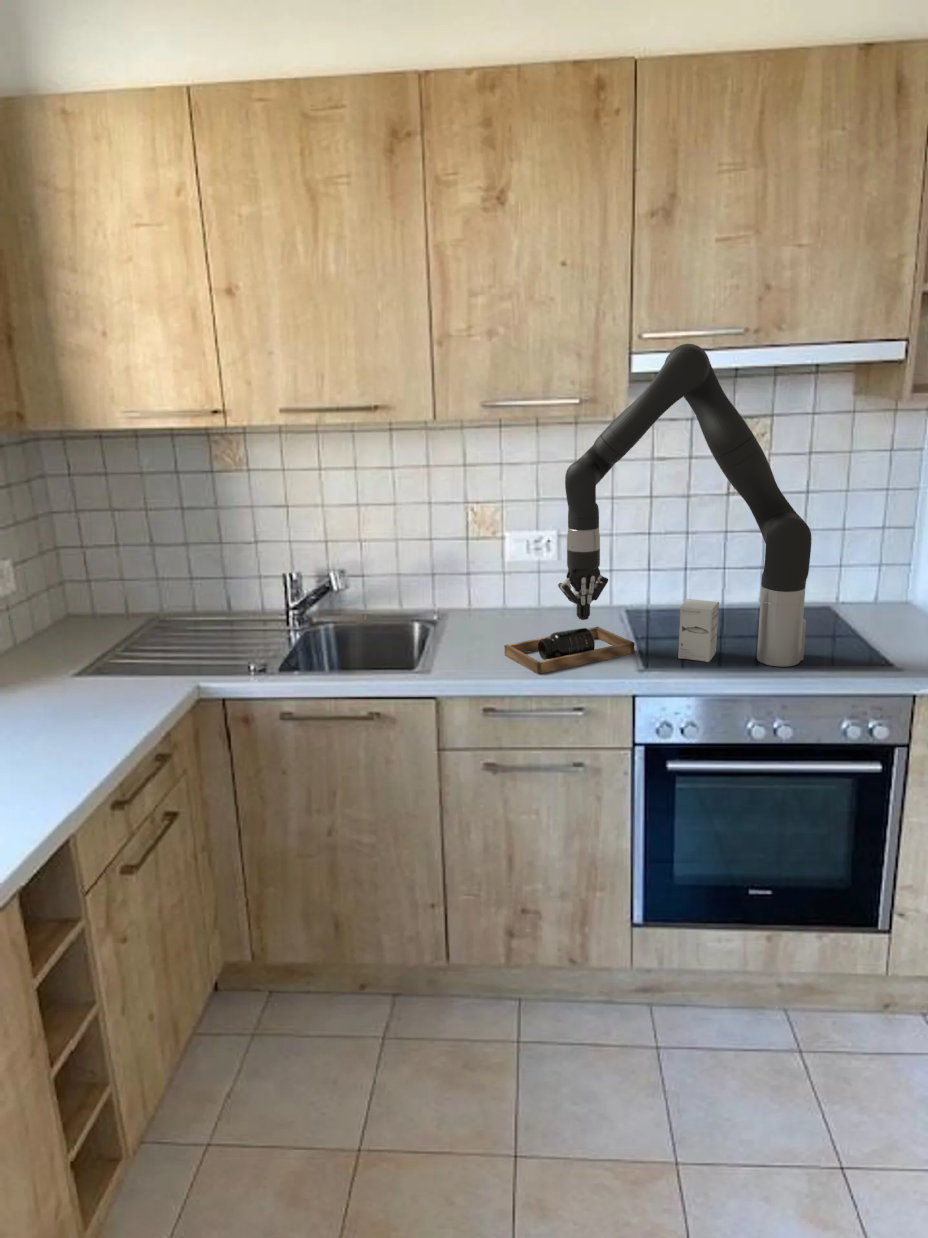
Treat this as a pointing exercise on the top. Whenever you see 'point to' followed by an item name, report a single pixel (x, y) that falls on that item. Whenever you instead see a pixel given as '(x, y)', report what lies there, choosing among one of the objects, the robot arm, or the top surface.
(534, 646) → the walnut frame
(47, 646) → the top surface
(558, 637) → the supplement bottle
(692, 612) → the supplement box
